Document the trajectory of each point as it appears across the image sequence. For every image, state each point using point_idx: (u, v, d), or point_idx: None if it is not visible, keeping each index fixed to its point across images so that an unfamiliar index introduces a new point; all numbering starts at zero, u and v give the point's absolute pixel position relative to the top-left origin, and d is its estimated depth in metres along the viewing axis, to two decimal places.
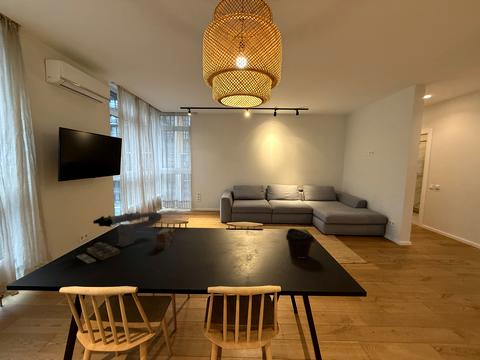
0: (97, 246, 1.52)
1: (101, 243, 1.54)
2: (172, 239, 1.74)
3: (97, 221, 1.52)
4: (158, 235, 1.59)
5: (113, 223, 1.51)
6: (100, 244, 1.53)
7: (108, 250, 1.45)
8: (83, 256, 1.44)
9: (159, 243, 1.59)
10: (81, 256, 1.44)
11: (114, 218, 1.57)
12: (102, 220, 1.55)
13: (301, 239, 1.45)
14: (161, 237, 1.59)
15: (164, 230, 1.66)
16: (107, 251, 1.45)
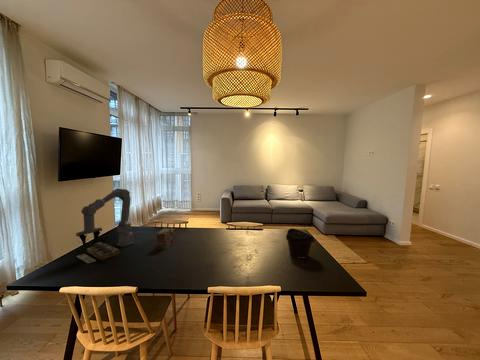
0: (97, 246, 1.52)
1: (101, 243, 1.54)
2: (172, 239, 1.75)
3: None
4: (158, 235, 1.59)
5: None
6: (100, 244, 1.53)
7: (108, 250, 1.45)
8: (83, 256, 1.44)
9: (159, 243, 1.59)
10: (81, 256, 1.44)
11: (94, 227, 1.43)
12: None
13: (301, 239, 1.45)
14: (161, 237, 1.59)
15: (164, 230, 1.66)
16: (107, 251, 1.45)
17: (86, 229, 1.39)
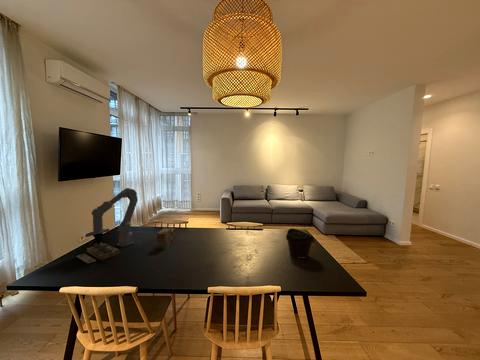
0: (97, 246, 1.52)
1: (101, 243, 1.54)
2: (172, 239, 1.75)
3: None
4: (158, 235, 1.59)
5: None
6: (100, 244, 1.53)
7: (108, 250, 1.45)
8: (83, 256, 1.44)
9: (160, 243, 1.60)
10: (81, 256, 1.44)
11: (102, 228, 1.53)
12: None
13: (301, 239, 1.45)
14: (161, 237, 1.59)
15: (164, 230, 1.66)
16: (107, 251, 1.45)
17: (95, 230, 1.50)
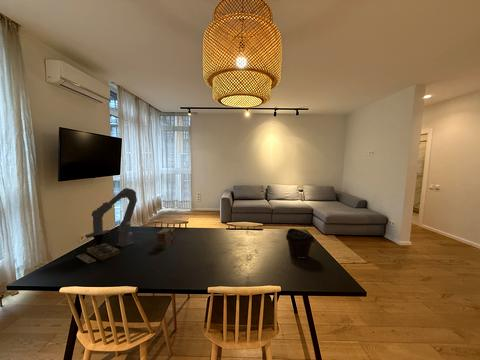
0: None
1: None
2: (172, 239, 1.75)
3: None
4: (158, 235, 1.59)
5: None
6: None
7: (108, 250, 1.45)
8: (83, 256, 1.44)
9: (160, 243, 1.60)
10: (81, 256, 1.44)
11: (102, 229, 1.53)
12: None
13: (301, 239, 1.45)
14: (161, 237, 1.59)
15: (164, 230, 1.66)
16: (107, 251, 1.45)
17: (95, 231, 1.50)
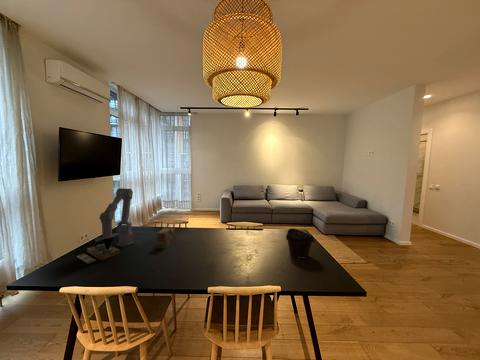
0: None
1: None
2: (172, 239, 1.75)
3: None
4: (158, 235, 1.60)
5: None
6: None
7: (108, 251, 1.45)
8: (83, 256, 1.44)
9: (160, 242, 1.60)
10: (81, 256, 1.44)
11: (111, 232, 1.46)
12: None
13: (301, 239, 1.45)
14: (161, 237, 1.60)
15: (164, 230, 1.66)
16: (107, 252, 1.45)
17: (104, 235, 1.43)
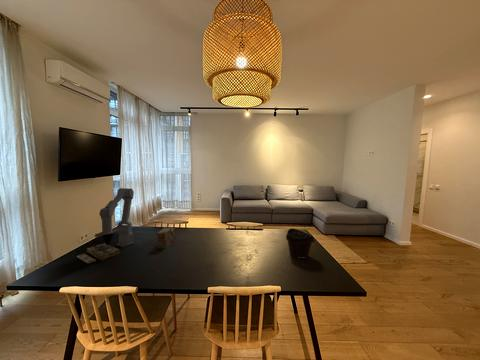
0: None
1: None
2: (172, 239, 1.75)
3: None
4: (159, 235, 1.60)
5: None
6: None
7: None
8: (83, 256, 1.44)
9: (160, 242, 1.60)
10: (81, 256, 1.44)
11: (111, 228, 1.46)
12: None
13: (301, 239, 1.45)
14: (161, 237, 1.60)
15: (164, 230, 1.67)
16: None
17: (104, 230, 1.43)
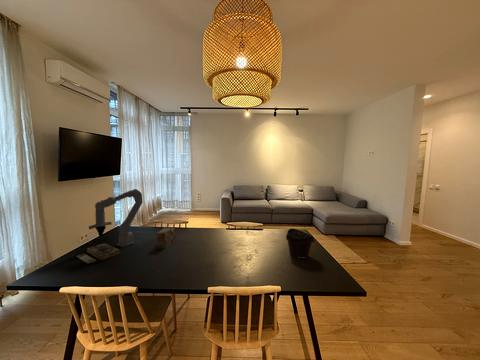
0: None
1: None
2: (172, 238, 1.76)
3: None
4: (159, 234, 1.60)
5: None
6: None
7: None
8: (83, 256, 1.44)
9: (160, 242, 1.60)
10: (81, 256, 1.44)
11: (104, 221, 1.57)
12: None
13: (301, 239, 1.45)
14: (161, 237, 1.60)
15: (164, 230, 1.67)
16: None
17: (97, 223, 1.54)
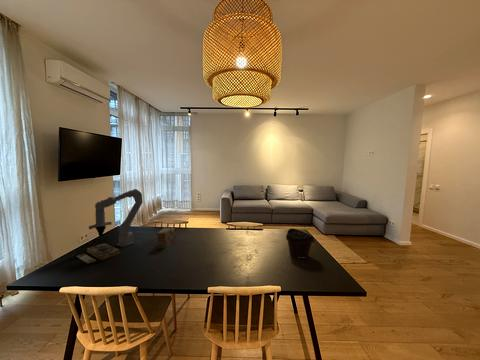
0: None
1: None
2: (172, 238, 1.76)
3: None
4: (159, 234, 1.60)
5: None
6: None
7: None
8: (83, 256, 1.44)
9: (160, 242, 1.61)
10: (81, 256, 1.44)
11: (104, 221, 1.57)
12: None
13: (301, 239, 1.45)
14: (161, 237, 1.60)
15: (164, 229, 1.67)
16: None
17: (97, 223, 1.54)
